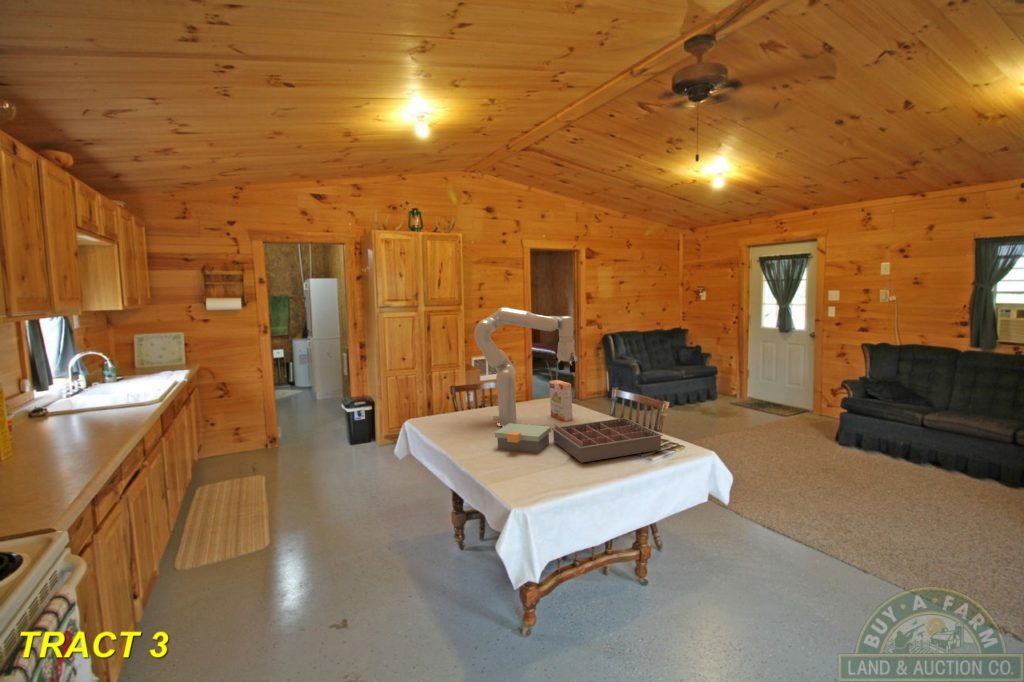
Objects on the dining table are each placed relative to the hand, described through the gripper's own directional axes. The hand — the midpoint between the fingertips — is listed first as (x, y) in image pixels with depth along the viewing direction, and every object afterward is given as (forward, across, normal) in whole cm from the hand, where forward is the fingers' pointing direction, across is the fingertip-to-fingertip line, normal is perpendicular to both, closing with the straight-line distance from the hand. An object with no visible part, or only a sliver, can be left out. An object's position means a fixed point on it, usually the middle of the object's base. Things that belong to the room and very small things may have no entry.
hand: (566, 371), depth 266 cm
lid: (+23, +19, -41) cm, 51 cm away
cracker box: (+29, -12, +4) cm, 32 cm away
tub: (+29, +18, -40) cm, 53 cm away
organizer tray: (+29, +42, -10) cm, 52 cm away
